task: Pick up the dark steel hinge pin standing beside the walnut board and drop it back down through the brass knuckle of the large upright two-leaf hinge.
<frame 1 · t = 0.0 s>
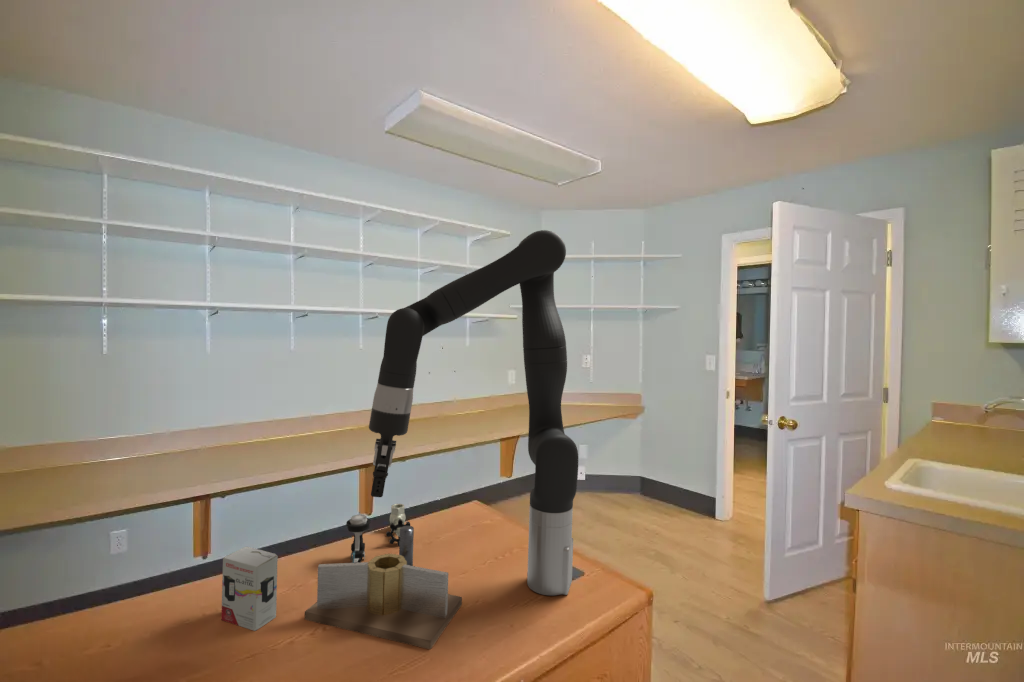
hand: (378, 488, 94), 22 cm above the worktop, tool pointing down, fingers open, 8 cm apart
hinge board: (385, 611, 91), on the worktop
ink box: (248, 619, 88), on the worktop
hinge pin: (405, 573, 106), on the worktop
valve: (398, 537, 124), on the worktop
hinge knuckles: (385, 586, 90), on the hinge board, point 6 cm above the worktop
push button: (357, 562, 110), on the worktop
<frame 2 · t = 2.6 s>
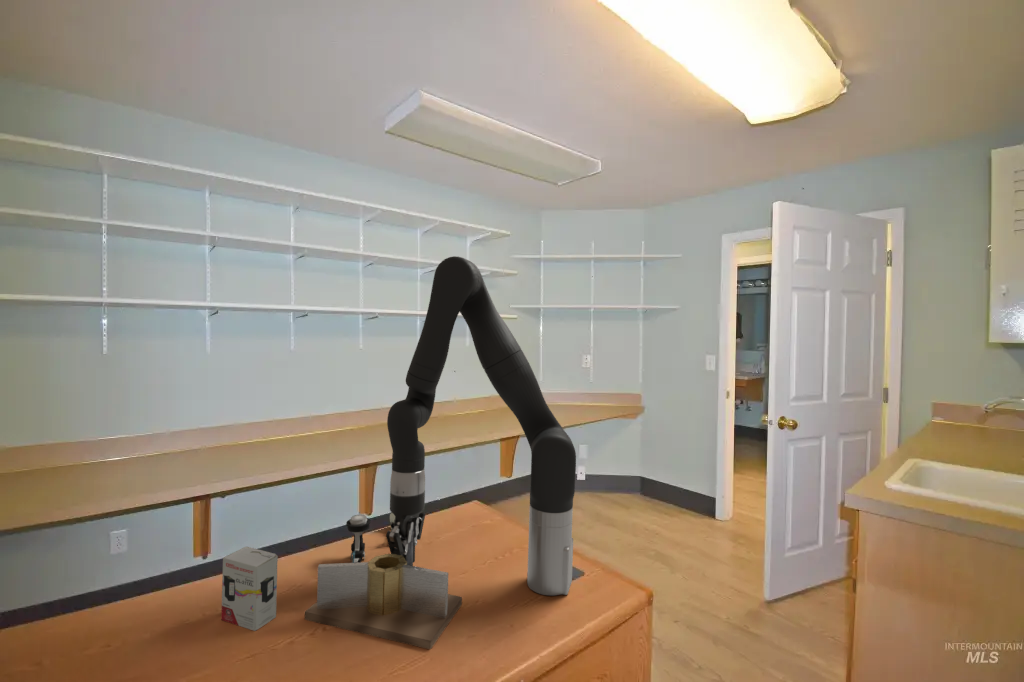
hand: (405, 565, 106), 2 cm above the worktop, tool pointing down, fingers closed on hinge pin, 3 cm apart
hinge pin: (405, 573, 106), on the worktop, touching gripper
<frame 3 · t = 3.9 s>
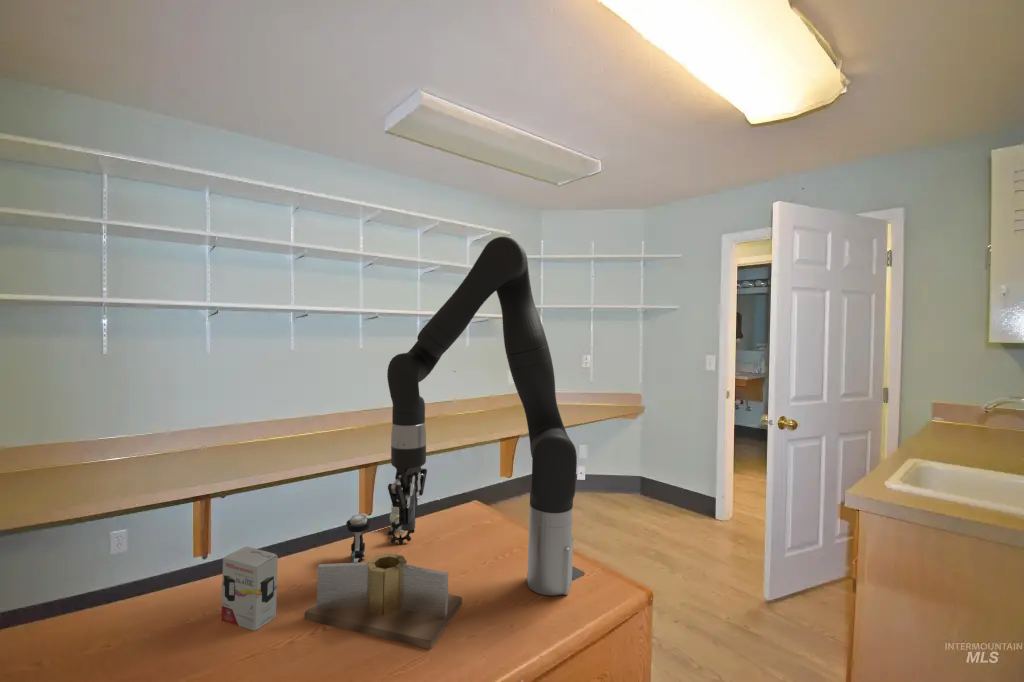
hand: (408, 520, 106), 12 cm above the worktop, tool pointing down, fingers closed on hinge pin, 3 cm apart
hinge pin: (408, 527, 106), point 10 cm above the worktop, touching gripper
everything else where it was.
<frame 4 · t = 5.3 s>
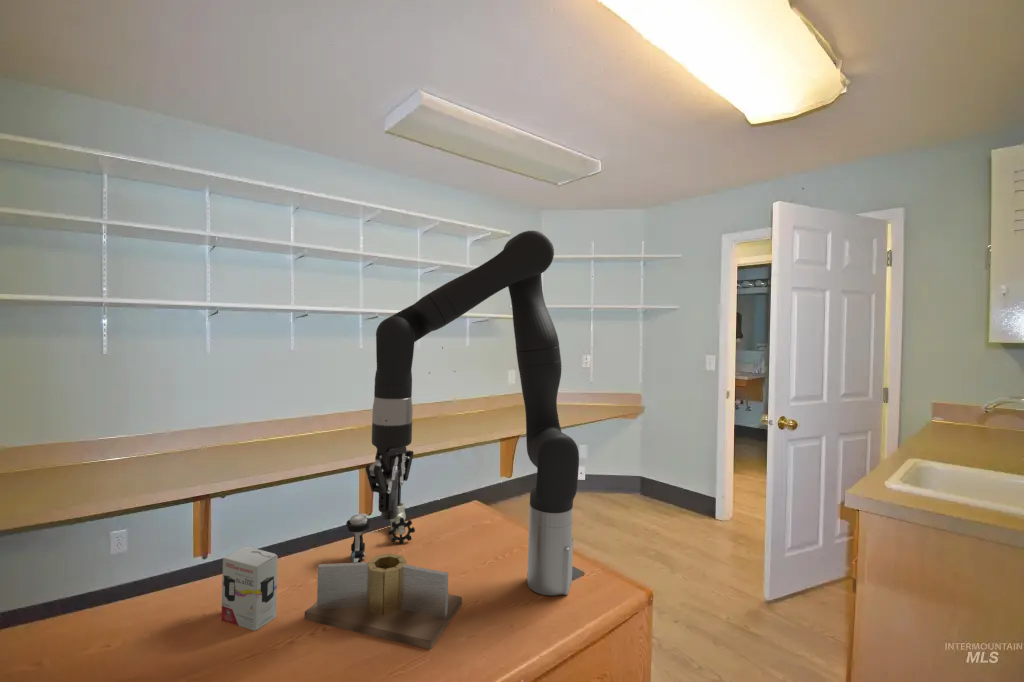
hand: (389, 508, 93), 19 cm above the worktop, tool pointing down, fingers closed on hinge pin, 3 cm apart
hinge pin: (389, 516, 93), point 18 cm above the worktop, touching gripper
everything else where it was.
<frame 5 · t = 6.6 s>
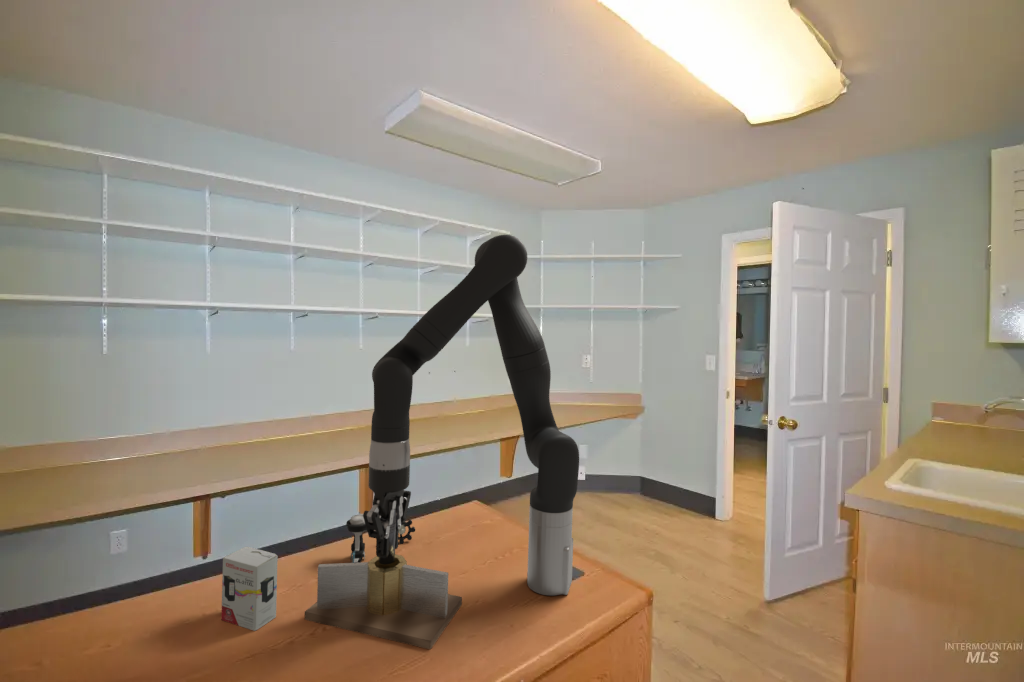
hand: (387, 551, 91), 12 cm above the worktop, tool pointing down, fingers closed on hinge pin, 3 cm apart
hinge pin: (386, 560, 91), point 10 cm above the worktop, touching gripper
when the fingers open (10 cm above the worktop, at t = 7.6 s): hinge pin drops 7 cm, resting on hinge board.
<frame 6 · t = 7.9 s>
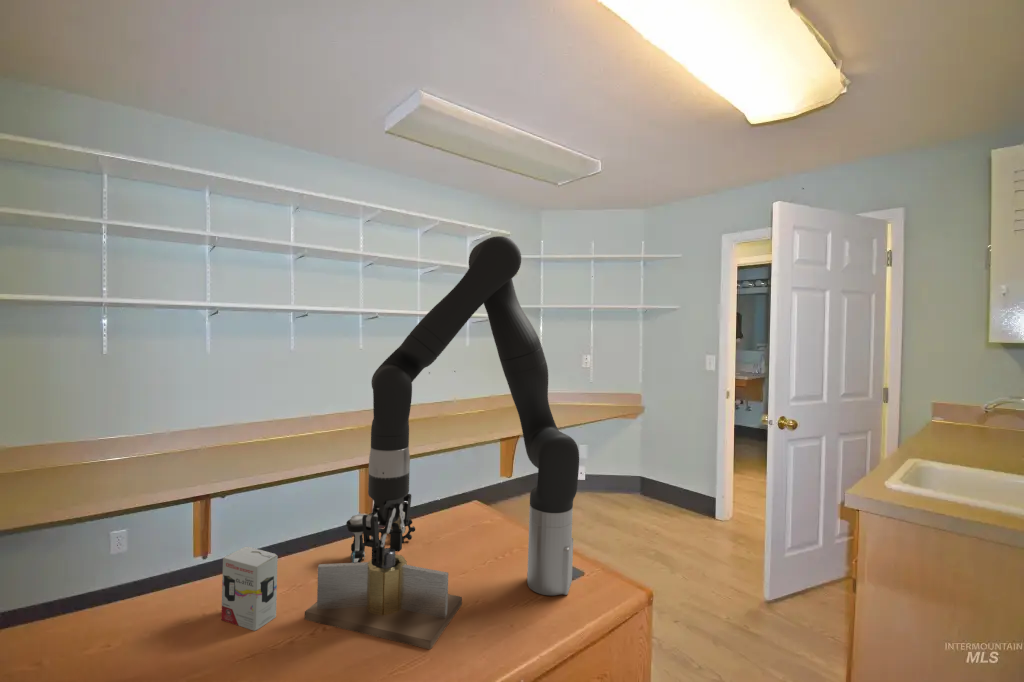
hand: (387, 557, 91), 11 cm above the worktop, tool pointing down, fingers open, 6 cm apart
hinge pin: (387, 602, 92), point 2 cm above the worktop, touching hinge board
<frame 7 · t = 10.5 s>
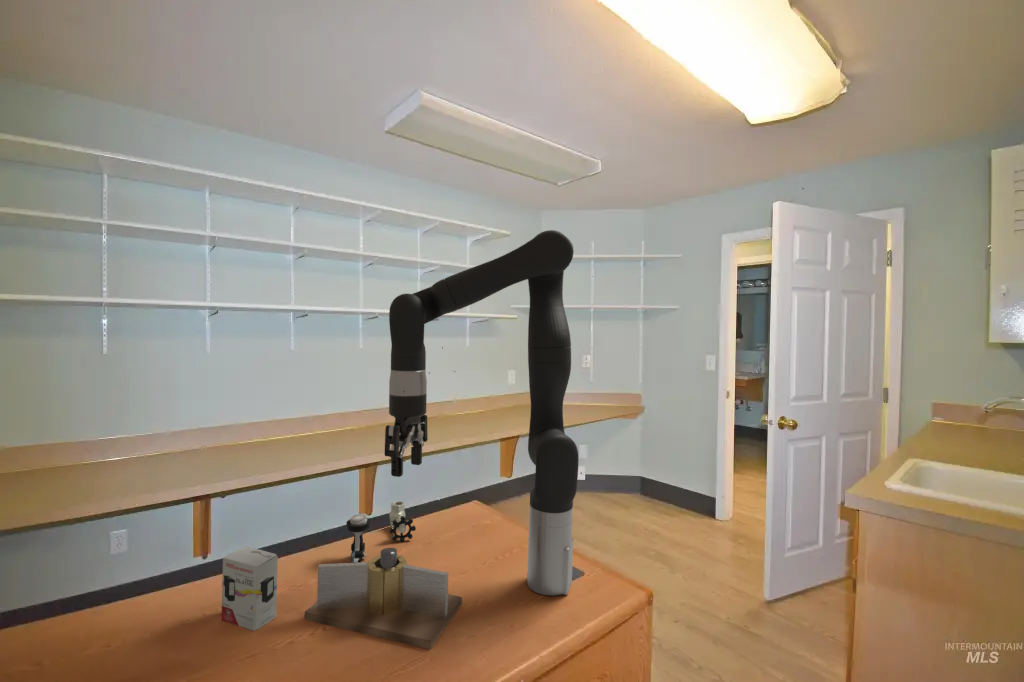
hand: (407, 469, 98), 25 cm above the worktop, tool pointing down, fingers open, 8 cm apart
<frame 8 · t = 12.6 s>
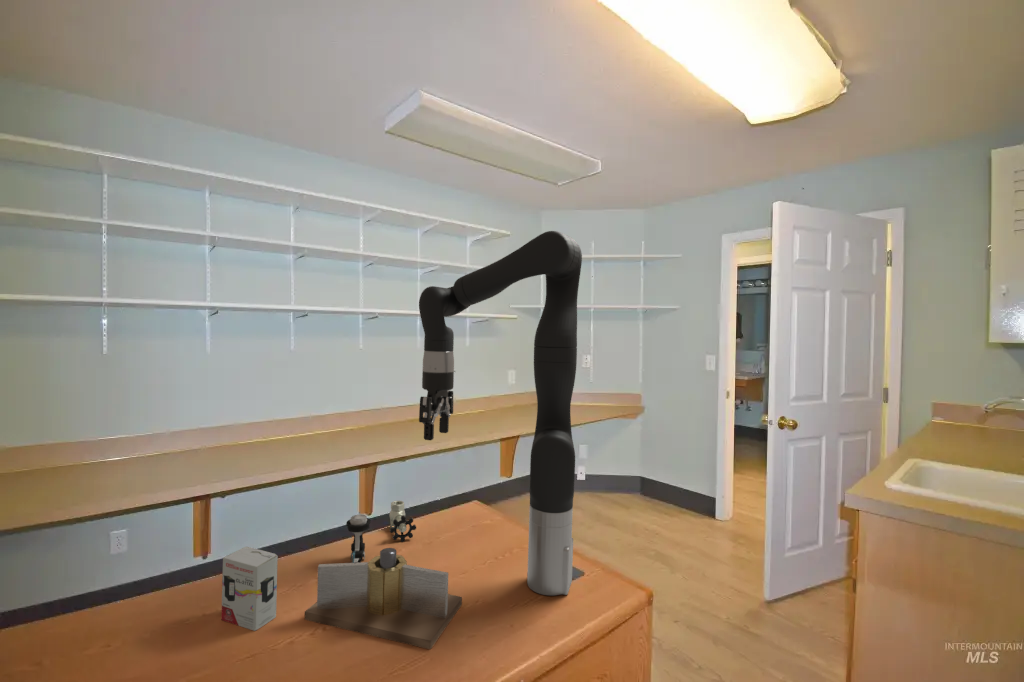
hand: (436, 436, 116), 28 cm above the worktop, tool pointing down, fingers open, 8 cm apart
at the end: hinge pin 0.4 cm off-centre on the hinge knuckles, point 1.5 cm above the hinge knuckles's base; hinge pin tilted 0°; the gripper is holding nothing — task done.
